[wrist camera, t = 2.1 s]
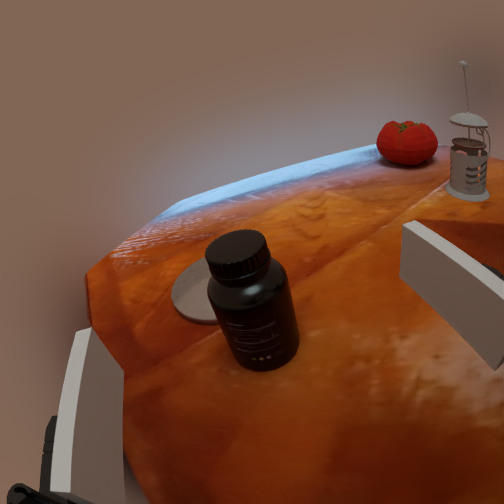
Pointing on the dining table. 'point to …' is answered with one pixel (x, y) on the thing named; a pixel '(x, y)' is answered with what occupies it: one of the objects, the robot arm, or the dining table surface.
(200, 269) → the hub disc
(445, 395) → the dining table surface
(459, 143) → the french press
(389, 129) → the tomato
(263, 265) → the supplement bottle
